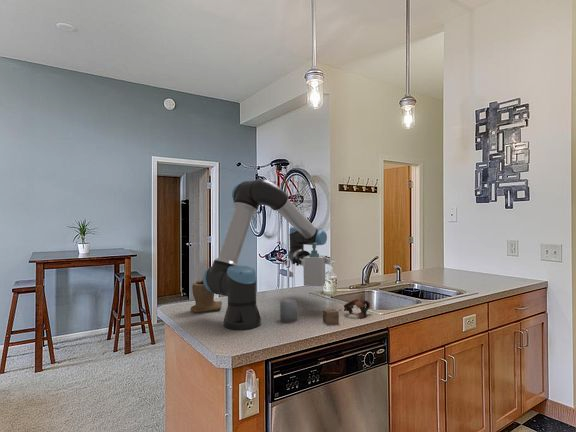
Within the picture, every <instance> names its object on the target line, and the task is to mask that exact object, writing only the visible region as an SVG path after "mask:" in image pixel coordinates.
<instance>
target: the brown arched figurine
mask: <svg viewBox="0 0 576 432" xmlns="http://www.w3.org/2000/svg"><path fill="white" fill-rule="evenodd" d="M354 306H355V307H357V308H359V310H360V312H359V313H357V316H358V317H359V319H363V318H365V317H367V316H368V314H367V311H369V310H370V306H371V303H370V302H369V300H363V301H360V300H359V298H355V299H353V300H351V301H349V302H347V303H345V304H344V305H343V308H344V309H343V312H348V313H349V314H351V313H353V309H354Z"/></svg>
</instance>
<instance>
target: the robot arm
mask: <svg viewBox="0 0 576 432" xmlns="http://www.w3.org/2000/svg"><path fill="white" fill-rule="evenodd" d="M231 193H232V194H231V197H232V201H233V203H232V204H233V207H234V212H233V214H232V217H231V220H230V223H229V226H228V229H227V232H226V235H225V238H224V241H223V244H222V246H221V250H220V252H219V255H218V257H217V258H215V259H214V260H213V263H212V266H209V267H208V268H207V269H206V270H205V271H204V273H203V277H202V280H203V282H204V285H205V287H206V289H207V290H208V291H210V292H212V293H214V295H221V296H225V297H227V308H226V311H225V315H224V317H223V327H224V328H225V329H228V330H235V331H237V330H250V329H251V330H252V329H255V328H257V327H259V326H261V325H262V318H261V315H260V311H259V308H258V305H257V276H256V275H257V274H256V273H257V272H256V270H255V269H254V268H253V267H251V266H247V265H241V264H240V265H239V264H238V262H239V258H240V255H241V252H242V250H243V246H244V243H245V241H246V237H247V233H248V231H249V227H250V224H251V222H252V218H253V215H254V214H256V213H257V212H258V210H259V207H260V206H267V207H269V208H270V209H272V210H273V211H276V212H277V213H279V214H280V216H282V217H283V218H284V219H285V220H286V221H287V222H288V223H289V224H290V225H291V226H290V228H289V234H288V236H289V251H288V252H287V258H288V259H289V260H290V262H291V264H292V265H295V266H302V267H303V266H305V260H303V257H305V256H307V255H310V253H311V252H309V251H307V250H305V247H304V246H312V243H317V245H316V247H318V246H324V245H325V244H326V243H327V241H328V235H327V233H326V231H325V230H320V229H317V228H316V227H315V226H314V224H313V223H312V222H311V221H310V220H309V219H308V218H307V217H306V216H305V215H304V214H303V213H302V212H301V211H300V210H299V209H298V208H297V206H296V205H295V204H294V203H292V202H291V200H290V198H289V195H288V194H287V193H286V192H285V191H284V190H283V189H282V188H281V187H280V186H278V185H277V184H276V183H274V182H272V181H271V180H269V179H268V180H267V179H261V178H260V179H256V180H255V179H254V180H245V181H242V182H239V183H237V184H236V185H234V188H233V190H232V191H231ZM324 256H325V265H329V266H330V265H331V264H332V263H331V262H332V261H331V259H332V258H331V257H330V256H328V255H324Z"/></svg>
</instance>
